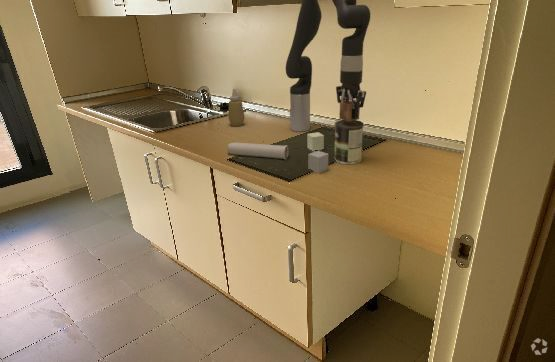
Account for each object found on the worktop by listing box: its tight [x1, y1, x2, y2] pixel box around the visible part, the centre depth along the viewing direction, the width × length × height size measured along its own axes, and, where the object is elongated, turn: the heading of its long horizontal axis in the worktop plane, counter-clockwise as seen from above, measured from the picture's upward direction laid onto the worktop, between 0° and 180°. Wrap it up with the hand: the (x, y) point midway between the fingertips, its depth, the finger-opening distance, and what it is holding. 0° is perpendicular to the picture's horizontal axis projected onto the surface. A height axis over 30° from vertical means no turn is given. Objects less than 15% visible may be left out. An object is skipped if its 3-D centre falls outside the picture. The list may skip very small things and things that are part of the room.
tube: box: [226, 141, 289, 160], centre depth 151 cm, size 5×5×25 cm
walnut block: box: [338, 100, 361, 122], centre depth 137 cm, size 5×5×6 cm
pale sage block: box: [306, 131, 325, 152], centre depth 156 cm, size 5×5×6 cm
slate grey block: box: [307, 150, 329, 174], centre depth 136 cm, size 5×5×6 cm
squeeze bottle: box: [228, 88, 245, 127], centre depth 190 cm, size 8×8×18 cm
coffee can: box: [333, 119, 364, 165], centre depth 142 cm, size 10×10×14 cm
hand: (349, 117), depth 138 cm, fingers closed on walnut block, 5 cm apart
